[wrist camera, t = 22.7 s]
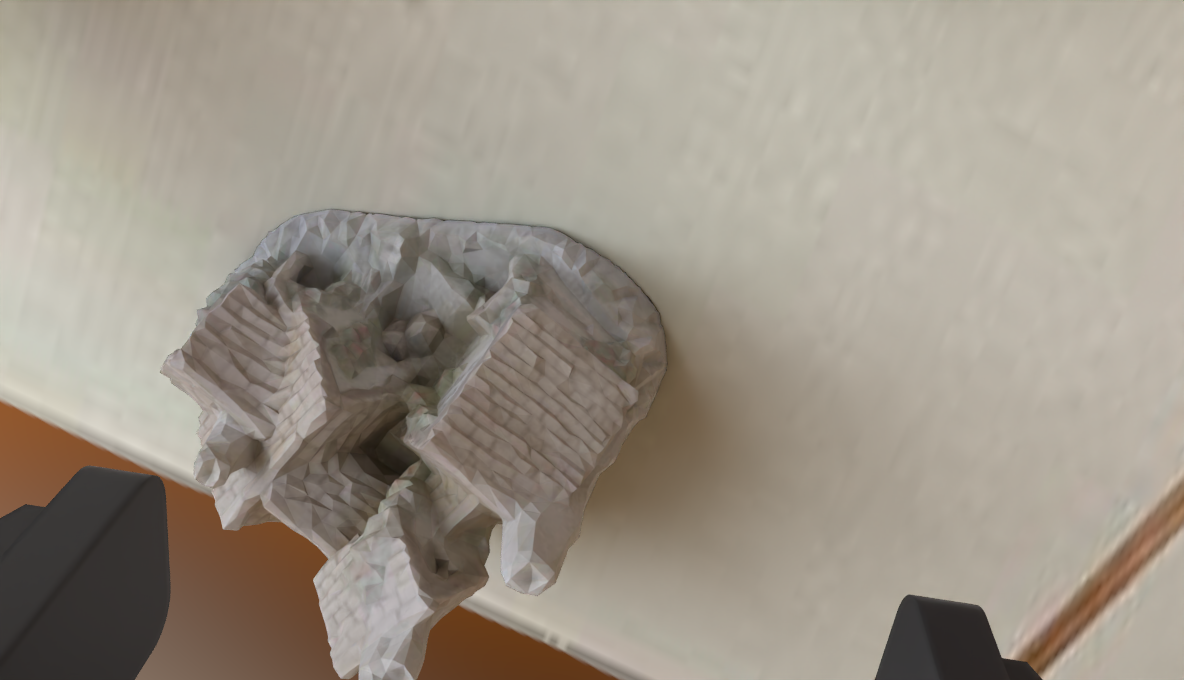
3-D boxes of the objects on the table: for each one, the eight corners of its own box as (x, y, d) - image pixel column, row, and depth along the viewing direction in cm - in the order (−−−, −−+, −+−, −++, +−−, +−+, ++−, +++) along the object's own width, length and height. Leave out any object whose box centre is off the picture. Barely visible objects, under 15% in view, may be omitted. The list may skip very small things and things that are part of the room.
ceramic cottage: (718, 391, 44) (693, 634, 31) (417, 560, 50) (284, 826, 37) (483, 69, 40) (335, 185, 27) (185, 293, 46) (-59, 481, 33)
